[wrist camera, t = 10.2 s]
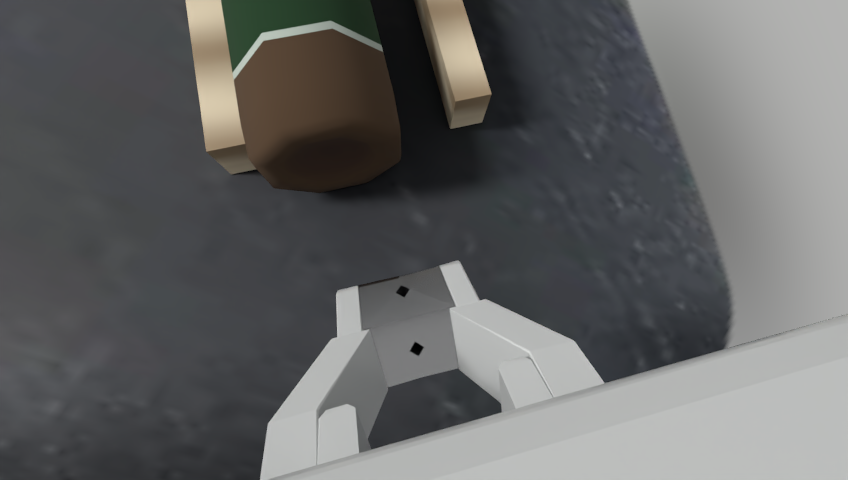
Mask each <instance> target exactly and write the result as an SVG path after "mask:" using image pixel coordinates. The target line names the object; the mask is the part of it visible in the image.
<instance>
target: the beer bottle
mask: <svg viewBox="0 0 848 480" xmlns="http://www.w3.org/2000/svg"><path fill="white" fill-rule="evenodd" d="M221 4H222V10H223V16H224V23H225V29H226V35H227V42H228V48H229V54H230V60H231V67H232V73H233V79H234V86H235V92H236V98H237V104H238V111H239V117H240V123H241V128H242V132H243V136H244V141H245V145H246V149H247V154H248V158H249V160H250V161H251V163H252V164H253V165H254V167H255V168H256V169H257V170H258V171H259V172H260V173H261V174H262V175H263V177H264V178H265V179H266V180H267V181H268V182H269V183H270V184H271V185H272V186H273V188H277V189H287V190H297V191H306V192H316V193H321V192H326V191H331V190H335V189H340V188H345V187H349V186H354V185H359V184H363V183H368V182H369V181H371V180H372V179H374V178H375V177H377V176H378V175H380V174H381V173H383V172H385V171H386V170H388V169H389V168H391V167H392V166H394V165H395V164H397V163H398V162H400V159H401V133H400V124H399V118H398V113H397V108H396V103H395V97H394V92H393V88H392V85H391V81H390V77H389V73H388V69H387V65H386V61H385V57H384V53H383V49H382V45H381V41H380V37H379V33H378V29H377V25H376V21H375V17H374V13H373V10H372V6H371V2H370V0H221Z"/></svg>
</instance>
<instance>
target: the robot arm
mask: <svg viewBox="0 0 848 480" xmlns="http://www.w3.org/2000/svg"><path fill="white" fill-rule="evenodd" d="M336 305H337V338H333V339H331V340H330V341H329V343H328V344H327V345H326V347H325V348H324V349H323V351H322V352H321V353H320V355H319V356H318V357H317V359H316V360H315V361H314V363H313V364H312V365H311V367H310V368H309V369H308V371H307V372H306V373H305V375H304V376H303V377H302V379H301V380H300V382H299V383H298V384H297V386H296V387H295V388H294V390H293V391H292V392H291V394H290V395H289V396H288V398H287V399H286V400H285V402H284V403H283V404H282V406H281V407H280V408H279V410H278V411H277V412H276V414H275V415H274V416H273V418H272V419H271V420H270V422H269V423H268V427H267V434H266V441H265V448H264V455H263V462H262V469H261V476H260V480H848V314H846V315H842V316H839V317H836V318H832V319H828V320H825V321H822V322H818V323H814V324H811V325H807V326H804V327H801V328H797V329H793V330H790V331H786V332H783V333H779V334H776V335H772V336H769V337H766V338H762V339H758V340H755V341H751V342H748V343H744V344H741V345H737V346H734V347H730V348H727V349H723V350H720V351H716V352H712V353H709V354H705V355H702V356H698V357H695V358H691V359H688V360H684V361H681V362H677V363H674V364H670V365H667V366H663V367H660V368H656V369H653V370H649V371H646V372H642V373H639V374H635V375H632V376H628V377H625V378H621V379H618V380H614V381H611V382H607V383H604V382H603V380H602V379H601V378H600V376H599V375H598V373H597V372H596V371H595V369H594V368H593V366H592V365H591V364H590V362H589V361H588V359H587V358H586V357H585V355H584V354H583V352H582V351H581V350H580V348H579V347H578V345H577V344H576V343H575V341H573V340H571V339H569V338H567V337H565V336H563V335H561V334H559V333H556V332H554V331H552V330H550V329H548V328H546V327H544V326H542V325H540V324H537V323H535V322H533V321H531V320H529V319H527V318H525V317H523V316H521V315H518V314H516V313H514V312H512V311H510V310H508V309H506V308H504V307H502V306H499V305H497V304H495V303H493V302H491V301H489V300H487V299H484V300H479V298H478V296H477V294H476V292H475V290H474V288H473V286H472V284H471V282H470V280H469V278H468V276H467V274H466V272H465V270H464V268H463V266H462V264H461V262H459V261H458V260H457V261H454V262H450V263H447V264H443V265H440V266H438V267H434V268H431V269H427V270H423V271H419V272H415V273H411V274H407V275H403V276H398V277H393V278H389V279H384V280H380V281H375V282H371V283H367V284H362V285H359V286H354V287H350V288H346V289H342V290H338V291H337V294H336ZM457 368H459V370H460V371H462V372H463V373H464V374H465V375H467V376H468V377H469V378H470V379H472V380H473V381H474V382H475V383H476V384H478V385H479V386H480V387H481V388H483V389H484V390H485V391H486V392H488V393H489V394H490V395H491V396H493V397H494V398H495V399H496V400H498V401H499V402H500V403H501V407H502V413H498V414H495V415H491V416H488V417H484V418H481V419H477V420H474V421H470V422H466V423H463V424H459V425H456V426H452V427H449V428H445V429H442V430H438V431H435V432H431V433H428V434H424V435H421V436H417V437H414V438H410V439H407V440H403V441H400V442H396V443H393V444H389V445H386V446H382V447H379V448H375V449H372V450H371V447H370V445H369V442H368V437H369V434H370V432H371V429H372V427H373V425H374V422H375V420H376V417H377V415H378V413H379V410H380V408H381V406H382V403H383V401H384V398H385V396H386V394H387V391H388V387H391V386H394V385H397V384H401V383H404V382H407V381H411V380H414V379H417V378H421V377H424V376H428V375H433V374H437V373H441V372H445V371H449V370H453V369H457Z"/></svg>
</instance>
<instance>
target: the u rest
mask: <svg viewBox="0 0 848 480" xmlns="http://www.w3.org/2000/svg"><path fill="white" fill-rule="evenodd" d="M414 2H415V6H416V9H417V13H418V16H419V20H420V24H421V27H422V31H423V34H424V38H425V41H426V45H427V48H428V52H429V56H430V59H431V63H432V66H433V70H434V73H435V77H436V80H437V84H438V88H439V91H440V95H441V98H442V102H443V105H444V109H445V112H446V116H447V120H448V123H449V127H450V129H453V128H458V127H463V126H468V125H472V124H477V123H482V121H483V118H484V115H485V112H486V109H487V106H488V104H489V101H490V98H491V95H492V94H491V90H490V87H489V84H488V81H487V78H486V74H485V71H484V68H483V65H482V62H481V58H480V55H479V52H478V49H477V45H476V42H475V39H474V36H473V33H472V29H471V26H470V23H469V20H468V17H467V13H466V10H465V7H464V4H463V1H462V0H414ZM186 7H187V14H188V21H189V29H190V36H191V43H192V51H193V58H194V65H195V72H196V80H197V87H198V94H199V101H200V109H201V116H202V123H203V131H204V138H205V145H206V152H207V153H208V154H210V155H211V156H212V157H213V158H214V159H215V160H216V161H217V162H218V163H219V164H221V165H222V166H223V167H224V168H225V169H226V170H227V171H228V172H229V173H230V174H236V173H241V172H245V171H250V170H255V169H256V168H255V167H254V165H253V164H252V163H251V161H250V160H249V158H248V154H247V149H246V145H245V141H244V136H243V132H242V128H241V123H240V117H239V111H238V104H237V98H236V92H235V86H234V79H233V73H232V67H231V60H230V54H229V48H228V42H227V35H226V29H225V23H224V16H223V10H222V4H221V0H186Z"/></svg>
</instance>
